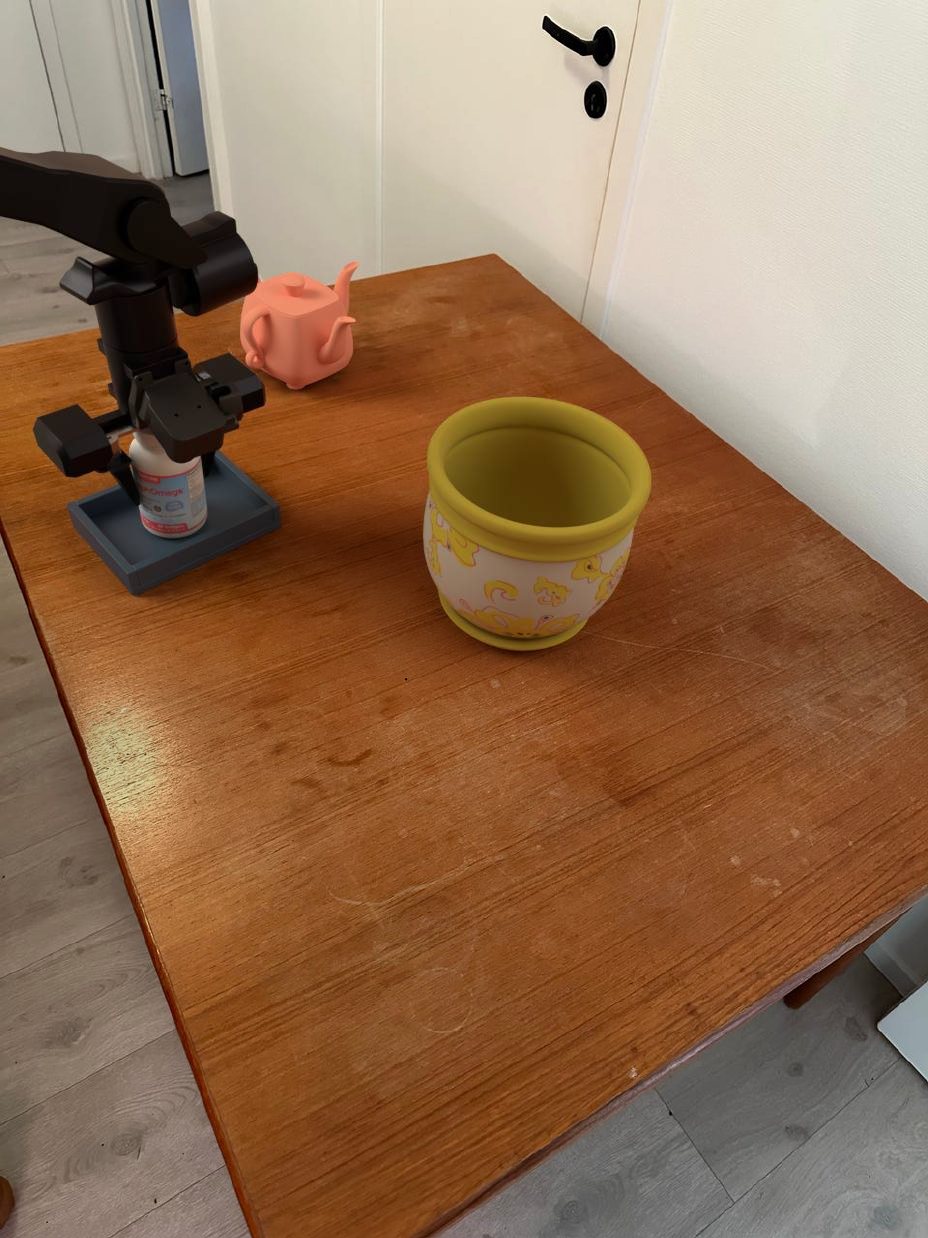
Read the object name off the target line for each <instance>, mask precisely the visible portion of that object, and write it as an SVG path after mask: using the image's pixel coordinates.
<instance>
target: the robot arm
mask: <svg viewBox="0 0 928 1238" xmlns="http://www.w3.org/2000/svg"><path fill="white" fill-rule="evenodd" d="M170 205H171V204H170V203H169V200H168V198H167V193H166V191H164V189H163V188H162V187H161V186H160V185H157V184H156V183H154V182H152V181H150V180H148V179H146V178H144V177H142V176H140V175H139V174H136V173H134V172H132V171H130V170H128V169H126V168H124V167H122V166H120V165H118V164H116V163H114V162H112V161H110V160H108V159H106V158H104V157H102V156H100V155H97V154H92V153H85V152H84V153H83V152H70V151H61V150H49V151H44V152H42V151H41V152H24V151H17V150H12V149H9V148H5V147H2V146H0V218H6V219H9V220H15V221H20V222H24V223H29V224H32V225H37V226H41V227H44V228H46V229H49V230H50V231H53V232H56V233H58V234H60V235H62V236H64V237H67V238H68V239H71V240H73V241H75V242H77V243H79V244H81V245H84V246H86V247H87V248H90V249H93V250H95V251H97V252H99V253H102V254H103V255H106V256H108V257H105V258H102V259H100V260H97V261H94V262H91V261H89V260H87V259H86V258H84V257H82V256H79V255H78V256H76V257H75V259H74V262H73V264H72V266H71V267H70V269H68V270H67V271H66V272H65V273H64V274H63V276H62V277H61V279H60V280H59V282H58V285H59V288H60V290H63V291H65V292H67V293H68V294H70V295H71V296H73V297H74V298H76V299H78V301H79V300H80V301H81V302H83V303H84V304H86V305H88V306H93V307H94V311H95V315H96V320H97V324H98V328H99V332H100V337H99V338H97V339H96V342H97V347H98V350H99V351H98V352H100V353H101V354H102V355H104V357H105V358H106V362H107V365H108V366H107V367H108V371H109V375H110V380H111V382H108V383H107V389H108V391H109V392H108V393H109V395H110V396H111V397H113V399H114V401H116V405H117V409H114V410H112V411H109V412H106V413H104V414H101V415H97V416H95V417H91V416H90V415H89V413H87V412H86V411H85V410H84V409H83V408H82V407H81V406H80V405H79V404H78V403H76V404H75V403H74V404H73V405H70V406H67V407H63V408H61V409H58V410H55V411H52V412H49V413H46V414H43V415H39V416H37V417H36V419H35V422H34V424H33V427H32V433H33V435H34V438H35V441H36V442H35V443H36V445H37V447H39V449H40V450H41V451H42V452H43V453H44V454H45V455H46V457H48V459H49V460H50V461H51V462H52V463H53V464H54V465H55V467H57V469H58V470H59V471H60V472H61V473H62V474H63V476H64V477H65V478H73V479H77V478H80V477H82V476H85V475H88V474H90V473H93V472H95V473H97V474H106V473H109V474H110V475H111V476H112V477H113V479H114V480H115V481H116V483H117V484H119V485H120V487H121V488H122V489H123V491H124V492H125V493H126V495H127V496H128V497H129V499H130V500H131V501H132V502H133V503H134V504H135V505H136V506H139V505H140V504H141V503H140V496H139V492H138V489H137V486H136V483H135V480H134V477H133V474H132V468H131V463H132V459H131V458H130V457H129V454H127V453H126V452H125V451H124V450H123V449H122V448H121V445H120V439H121V438H122V437H126V436H127V435H131V434H133V433H134V432H136V431H139V430H143V429H145V428H148V427H149V429H150V431H151V432H152V433H153V435H154V436H155V438H156V439H157V440H158V442H159V443H160V445H161V446H162V447H163V449H164V450H165V452H166V454H167V456H168V457H169V458H170V459H171V460H172V461H173V462H175V463H180V464H183V463H187V462H190V461H191V460H193V459H194V458H196V457H199V456H201V463H202V471H203V477H204V478H206V477H208V476H209V474H210V470H211V467H212V463H213V460H214V457H215V453H216V451H217V450H221V448H223V446H224V440H225V434H228V433H230V432H233V431H235V430H238V429H240V422H241V421H242V419H243V417H244V414H247V413H249V412H252V411H254V410H258V409H259V408H263V407H265V405H266V403H267V397H266V386H265V383H264V381H263V379H262V377H261V376H260V375H259V374H258V373H256V372H255V370H254V369H252V368H250V367H249V366H248V365H247V364H246V363H244V362H243V361H241V360H240V359H239V358H238V357H237V356H235V355H234V354H232V353H230V352H226V353H223V354H221V355H217V356H213V357H211V358H208V359H205V360H203V361H200V362H197V363H195V364H194V365H193V366H192V362H191V360H190V358H189V353H188V352H187V350H185V349H184V348H182V346H180V341H179V334H178V329H177V323H176V317H175V311H174V308H175V309H177V310H180V311H182V313H184V314H185V315H187V316H190V317H193V318H196V317H200V316H202V315H206V314H207V313H210V312H212V311H215V310H216V309H219V308H221V307H223V306H226V305H228V304H231V303H233V302H236V301H238V300H240V299H242V298H245V297H246V296H247V295H250V294H251V293H253V292H254V291H255V289H256V287H257V284H258V275H259V267H258V265H257V263H256V262H255V261H254V260H255V259H254V258H253V257H254V256H253V255H252V252H251V250H250V248H249V246H248V245H247V243H246V242H245V240H244V239H243V238H242V236H241V235H240V234H239V233H238V231H237V230H238V228H237V219H235V218H234V217H233V216H230V215H228V214H226V213H224V212H222V211H219V210H216V211H212V212H210V213H207V214H205V215H204V216H203V217H201V218H199V219H198V220H194V221H192V222H188V223H186V224H183V225H180V224H179V222H178V221H177V220H176V219H175V218H174V217H173V216H172V212H171V211H172V210H171V206H170Z"/></svg>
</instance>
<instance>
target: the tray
mask: <svg viewBox="0 0 928 1238" xmlns="http://www.w3.org/2000/svg"><path fill="white" fill-rule="evenodd" d="M203 480H204V488H205V496H206V505H207V518H206V521H205V523H204V525H203V526H202V527H201V528H200V529H199V530H198V531H197V532H195V533H193V534H191V535H189V536H186V537H181V538H164V537H160V536H157V535H154V534H152V533H151V532H149V531H148V530H147V529H146V528H145V527H144V525H143V523H142V519H141V515H140V510H139V506H136V505H135V504H134V503H133V502H132V501H131V500H130V499H129V497H128V496H127V495H126V493H125V492H124V491H123V489H122V488H121V487H120V485H119V484H118V483H117V484H114V485H111V486H109V487H107V488H104V489H101V490H99V491H96V492H93V493H92V494H88V495H85V496H83V497H81V498H79V499H77V500H73V501H71V502H68V503H66V504H65V506H66V509H67V512H68V514H69V518H70V521H71V524H72V527H73V528H74V530H76V532H77V533H78V534H79V535H80V537H82V538H83V540H84V541H85V543H87V544H88V546H90V548H91V549H92V550H93V551H94V553H95V554H96V555H97V556H98V557H99V558H100V560H102V562H103V563H104V564H105V565H106V567H108V569H109V570H110V571H111V572H112V573H113V575H115V577H116V578H117V579H118V580H119V581H120V582H121V583H122V585H123V586H124V587H125V589H127V591H128V592H129V593H130V594H131V595H132V596H133V597H135V596H138V595H140V594H142V593H144V592H146V591H148V590H150V589H153V588H155V587H156V586H157V587H158V586H159V585H161V584H164V583H166V582H167V581H170V580H171V579H174V578H176V577H178V576H180V575H182V574H185V573H187V572H189V571H191V570H193V569H195V568H198V567H199V566H201V565H204V564H206V563H209V562H210V561H212V560H214V559H216V558H218V557H220V556H223V555H225V554H227V553H229V552H231V551H233V550H235V549H237V548H240V547H242V546H244V545H247V544H248V543H250V542H252V541H255V540H256V539H259V538H261V537H263V536H266V535H267V534H270V533H271V532H273V531H275V530H278V529H280V528H282V517H281V506H280V504H279V503H278V502H277V501H276V500H274V498H273V497H272V496H270V495H269V494H268V493H267V492H266V491H265V490H263V488H262V487H260V485H258V484H257V483H256V482H255V481H254V480H252V478H251V477H249V476H248V475H247V474H246V473H245V472H244V471H243V470H242V469H241V468H240V467H239V466H238V465H236V464H235V463H234V462H233V461H232V460H231V459H230V458H229V457H227V456H226V455H225V454H224V453H223V452H222V451H221V449H219V450H217V451H216V453H215V457H214V460H213V463H212V467H211V470H210V474H209V476H208V477H206V478H204V477H203Z"/></svg>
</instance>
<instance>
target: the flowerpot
mask: <svg viewBox="0 0 928 1238" xmlns="http://www.w3.org/2000/svg"><path fill="white" fill-rule="evenodd" d="M426 467H427V471H428V477H429V479H428V487H429V490H428V495H427V499H426V503H425V509H424V514H423V525H422V536H423V537H422V543H423V551H424V557H425V562H426V565H427V568H428V571H429V573H430V574H429V575H430V576H431V579H432V581H433V582H434V585H435V586H436V588H437V593H438V598H439V602H440V604H441V606H442V608H443V610H444V612H445V614H446V615H447V616H448V618H449V619H450V620H451V622H453V623H454V624H455V626H457V627H458V628H459V629H460V630H461V631H463V632H464V633H466V634H467V635H468V636H470V637H472V638H474V639H476V640H478V641H479V642H481V643H484V644H485V645H488V646H490V647H494V648H496V649H501V650H506V651H512V652H513V651H514V652H515V651H516V652H528V651H529V652H530V651H536V650H542V649H543V650H544V649H547V648H552V647H555V646H557V645H560V644H563V643H564V642H567V641H568V640H570V639H572V638H573V637H574V636H575V635H577V634H578V633H579V632H580V631H581V630H582V629H583V628H584V627H585V625H586V624H587V622H588V620H589V619H590V617H591V616H592V615H594V614H595V613H596V612H597V611H599V609H601V608H602V606H603V605H604V604H605V603H606V602H607V601H608V600H609V598H610V597H611V595H612V594H613V593H614V591H615V589H616V588H617V586H618V584H619V583H620V581H621V578H622V576H623V573H624V572H625V568H626V566H627V563H628V559H629V556H630V552H631V548H632V544H633V543H632V542H633V537H634V529H635V526H636V524H637V522H638V519H639V516H640V514H641V513H642V511H643V510H644V508H645V507H646V505H647V503H648V500H649V497H650V494H651V489H652V472H651V467H650V464H649V461H648V459H647V457H646V455H645V453H644V451H643V450H642V449H641V447H640V446H639V444H638V443H637V442H636V441H635V439H633V437H631V435H629V434H628V432H627V431H625V430H623V429H622V427H620V426H618V425H617V424H615V423H614V422H612V421H611V420H609V419H608V418H606V417H604V416H603V415H601V414H598V413H596V412H595V411H592V410H589V409H587V408H584V407H582V406H579V405H576V404H572V403H569V402H565V401H560V400H556V399H552V398H551V399H550V398H545V397H535V396H507V397H498V398H492V399H491V398H490V399H487V400H482V401H479V402H476V403H473V404H470V405H468V406H465V407H463V408H461V409H459V410H458V411H456V412H454V413H452V414H451V415H449V416H448V417H447V418H446V419H445V420H443V421H442V423H441V424H440V425H439V426H438V427H437V428H436V429H435V431H434V433H433V434H432V437H431V439H430V441H429V444H428V447H427V452H426Z"/></svg>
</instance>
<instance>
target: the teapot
mask: <svg viewBox="0 0 928 1238" xmlns="http://www.w3.org/2000/svg"><path fill="white" fill-rule="evenodd" d="M359 266H360V262H359V261H352V262H349V263H347V264H345V266H343V267H342V269H341V270H340V272H339V273H338V276H337V278H336V281H335V284H334V287H333V289H332V288H330V287H329V286H327V285H326V284H324V283H323V282H321V281H319V280H317V279H315V278H313V277H310V276H308V275H305V274H303V273H300V272H296V271H290V272H285V273H282V274H279V275H276V276H272V277H270V278H267V279H265V280H261V278H260V276H259V274H258V284H257V287H256V289H255V291H254V292H253V293H251V294H250V295H247V296H245V297H244V301H243V305H242V310H241V316H240V327H239V331H240V332H239V336H240V337H239V338H240V344H241V346H242V348H243V350H244V352H245V354H246V355H245V364H246V366H248V367H249V368H250V369H252V370H259V369H260V370H262V371H263V372H265V373H266V374H268V375H269V376H271V377H273V378H275V379H277V380H280V381H282V382H284V383H286V386H287V388H289V389H290V390H300V389H303V388H304V387H306V386H307V385H310V384H313V383H315V382H318V381H321V380H323V379H326V378H327V377H330V376H332V375H334V374H335V373H338V372H339V371H341V370H343V369H344V368H345V367H347V366H348V364H349V363H350V361H351V359H352V356H353V353H354V340H353V339H354V338H353V334H352V328H351V324H353V323H355V322H356V318H354V317H351V316H348V314H349V311H350V310H349V309H350V285H351V284H350V283H351V280H352V277H353V275H354V273H355V271H356V270H357V268H358V267H359Z"/></svg>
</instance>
